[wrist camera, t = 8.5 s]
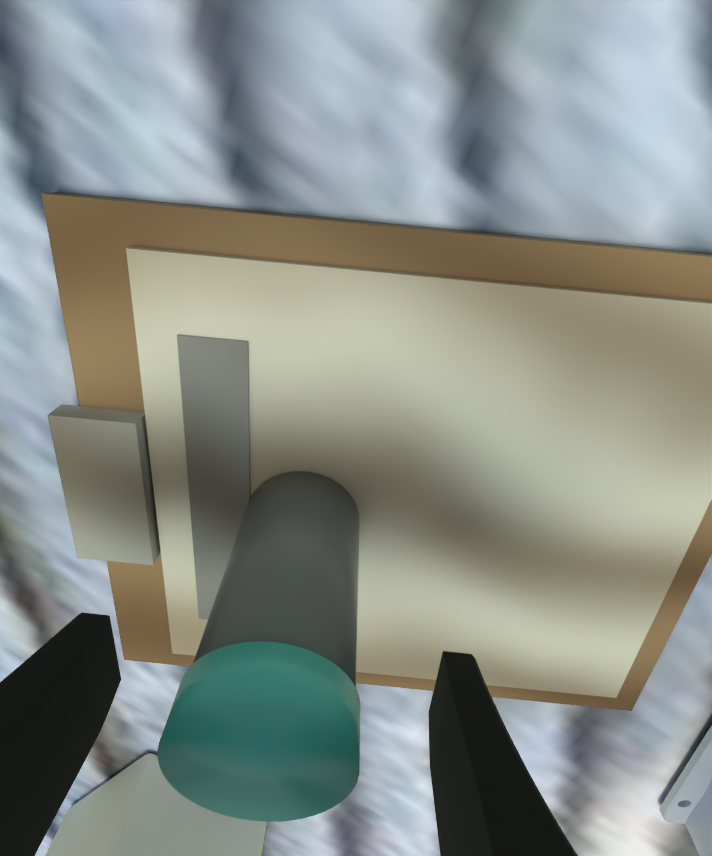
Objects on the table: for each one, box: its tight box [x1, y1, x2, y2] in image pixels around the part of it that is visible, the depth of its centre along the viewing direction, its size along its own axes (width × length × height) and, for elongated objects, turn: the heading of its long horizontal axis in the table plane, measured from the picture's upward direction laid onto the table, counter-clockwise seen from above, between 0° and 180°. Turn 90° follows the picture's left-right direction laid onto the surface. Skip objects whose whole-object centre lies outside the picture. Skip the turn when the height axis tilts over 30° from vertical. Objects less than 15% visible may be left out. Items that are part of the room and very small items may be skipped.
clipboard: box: [42, 192, 712, 711], centre depth 16 cm, size 16×20×1 cm
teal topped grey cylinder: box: [158, 471, 360, 822], centre depth 13 cm, size 4×4×7 cm
